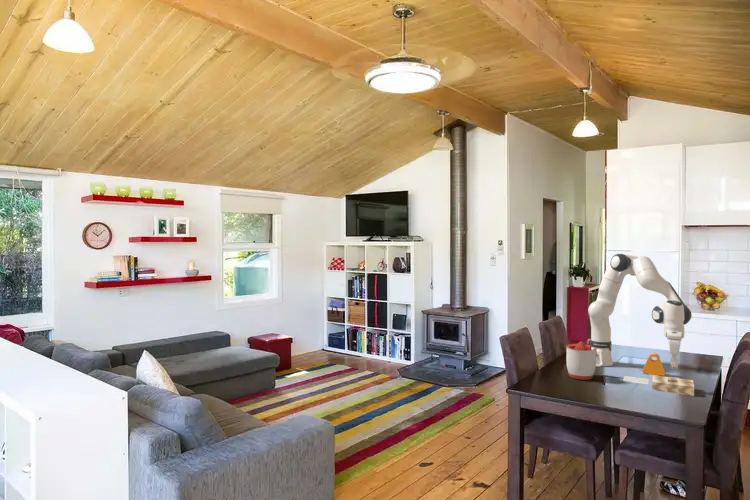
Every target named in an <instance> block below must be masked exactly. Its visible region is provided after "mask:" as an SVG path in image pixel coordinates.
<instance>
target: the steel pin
mask: <svg viewBox="0 0 750 500" xmlns="http://www.w3.org/2000/svg"><path fill="white" fill-rule="evenodd" d="M678 357H679V354H678V355H677V356H676V362H674V361H672V354H670V369H672V370H678V364H679V363H678V360H679V358H678Z"/></svg>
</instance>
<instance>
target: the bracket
mask: <svg viewBox="0 0 750 500" xmlns="http://www.w3.org/2000/svg"><path fill="white" fill-rule="evenodd" d="M652 357H653V358H655V360H653V358H652ZM642 374H646V375H648V376H649V375H650V376H653V375H654V376H662V377H666V369H664V366H663V363H662V361H661V358H660V355H659V354H658V353H656V352H653V353H650V354H649V356H648V358H647V360H646V362H645V365H644V366H643V367H642Z"/></svg>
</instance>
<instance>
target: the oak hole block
mask: <svg viewBox="0 0 750 500" xmlns="http://www.w3.org/2000/svg"><path fill="white" fill-rule="evenodd" d="M651 380H652V381H651V382H652V383H651V391H657V392H665V393H672V394H679V395H682V396H688V395H689V397H694V396H695V383H694V380H693V379H688V378H687V379H685V378H678V377H677V378H676V377H668V376H662V375H659V376H657V375H652V379H651Z"/></svg>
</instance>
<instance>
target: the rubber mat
mask: <svg viewBox="0 0 750 500" xmlns="http://www.w3.org/2000/svg"><path fill="white" fill-rule="evenodd" d="M622 382H626V383H627V382H628V383H635V384H641V385H649V382H650V378H643V377H636V376H629V375H628V376H627V375H624V377H623V379H622Z"/></svg>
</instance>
